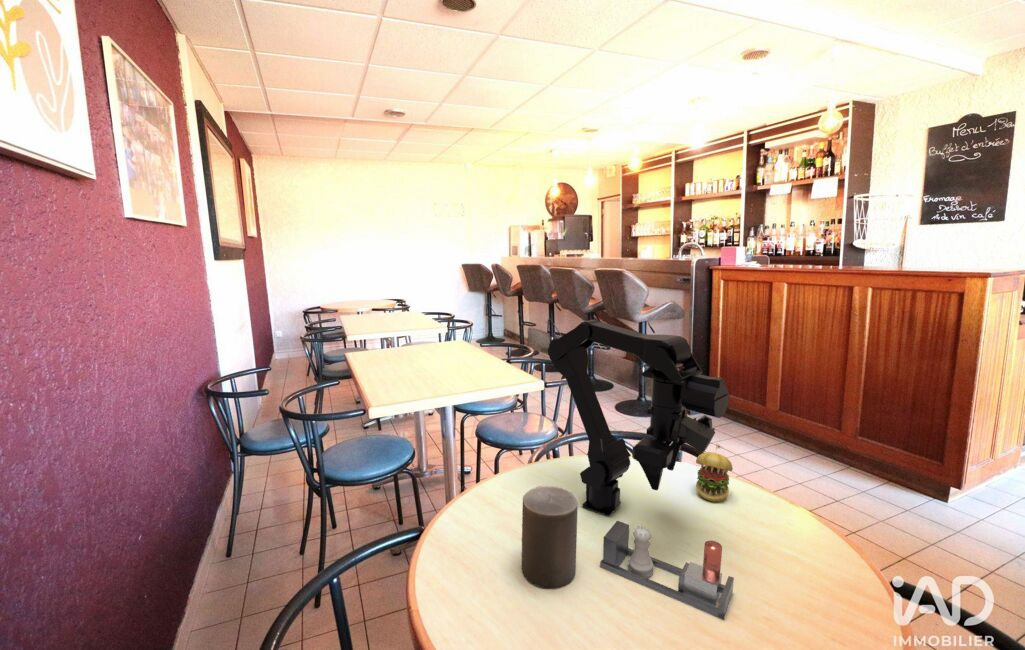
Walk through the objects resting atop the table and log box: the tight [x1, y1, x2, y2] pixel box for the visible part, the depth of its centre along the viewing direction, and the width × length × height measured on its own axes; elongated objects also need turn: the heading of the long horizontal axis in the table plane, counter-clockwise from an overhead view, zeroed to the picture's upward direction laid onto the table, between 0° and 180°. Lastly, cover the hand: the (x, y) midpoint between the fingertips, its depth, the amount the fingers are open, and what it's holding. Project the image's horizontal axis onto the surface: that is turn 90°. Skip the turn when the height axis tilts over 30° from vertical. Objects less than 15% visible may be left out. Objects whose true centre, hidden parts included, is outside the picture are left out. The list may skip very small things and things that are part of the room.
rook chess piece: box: [627, 525, 655, 579], centre depth 83 cm, size 4×4×8 cm
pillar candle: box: [521, 485, 578, 590], centre depth 83 cm, size 10×10×15 cm
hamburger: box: [695, 443, 733, 502], centre depth 106 cm, size 8×7×12 cm
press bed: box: [599, 520, 735, 621], centre depth 81 cm, size 21×7×6 cm, turn 55°
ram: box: [677, 540, 723, 607], centre depth 77 cm, size 6×4×10 cm
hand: (662, 479), depth 91 cm, fingers open, 9 cm apart
